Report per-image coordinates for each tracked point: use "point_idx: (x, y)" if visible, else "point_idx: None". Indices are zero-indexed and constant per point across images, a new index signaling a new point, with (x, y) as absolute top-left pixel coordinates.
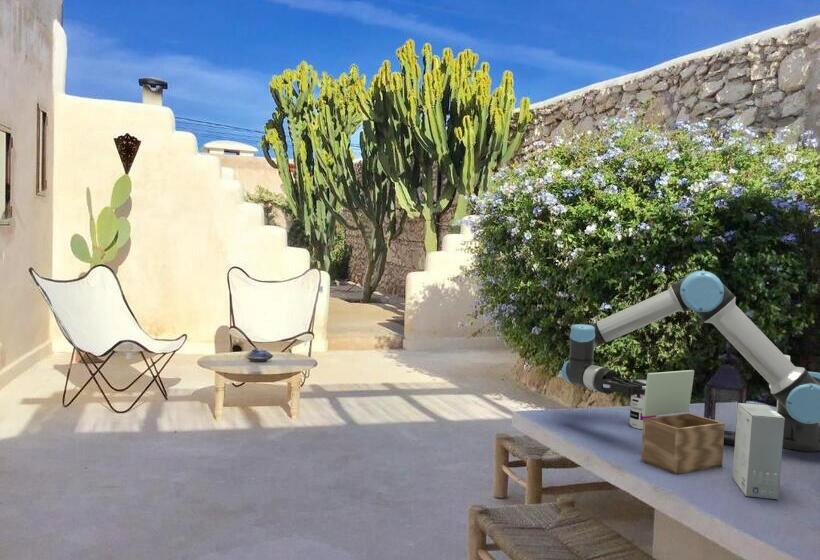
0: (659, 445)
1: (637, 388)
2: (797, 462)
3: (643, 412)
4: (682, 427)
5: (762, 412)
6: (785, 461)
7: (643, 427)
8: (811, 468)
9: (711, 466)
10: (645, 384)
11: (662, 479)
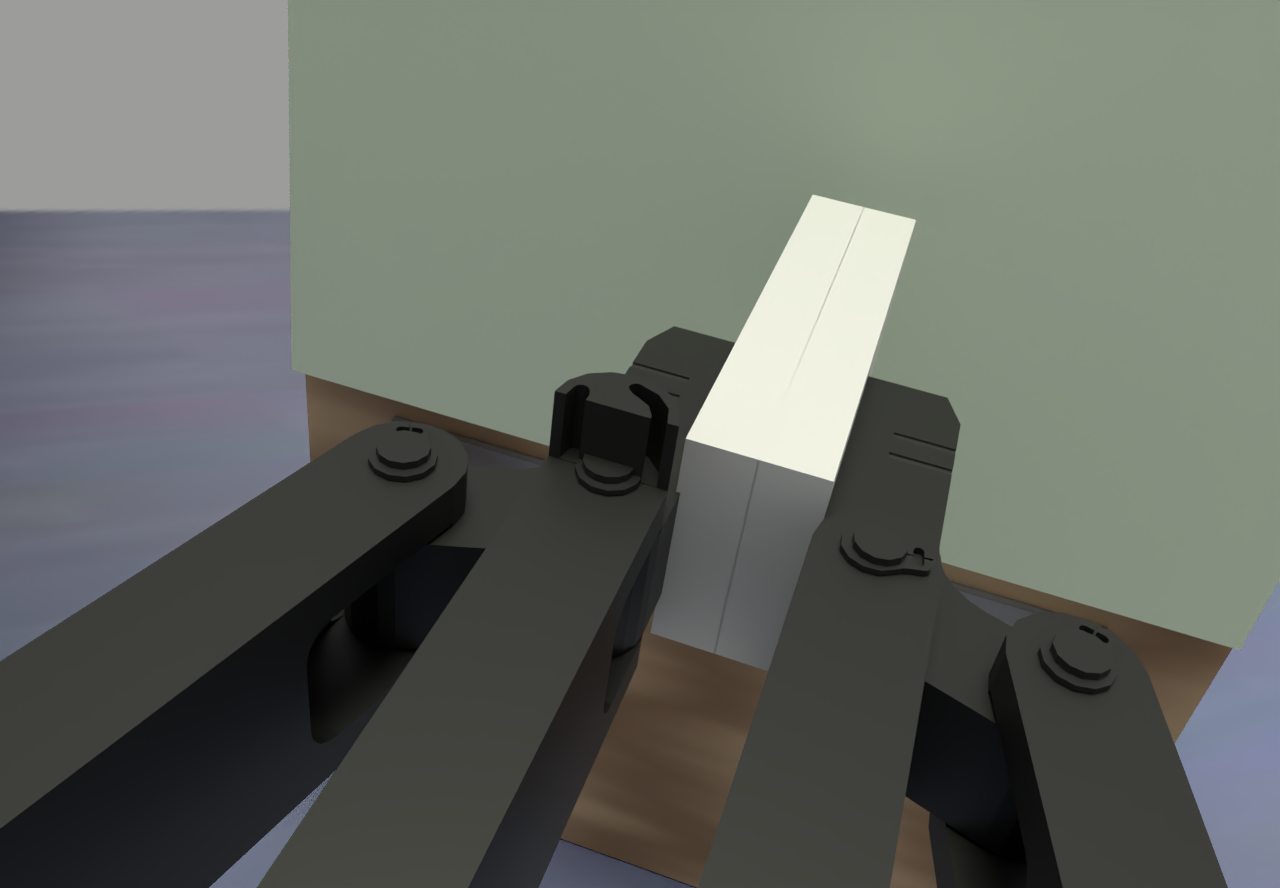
0: None
1: (939, 600)
2: (11, 253)
3: (1264, 588)
4: None
5: None
6: (28, 288)
7: (1177, 730)
8: (124, 215)
9: None
10: (672, 414)
11: (1237, 686)
